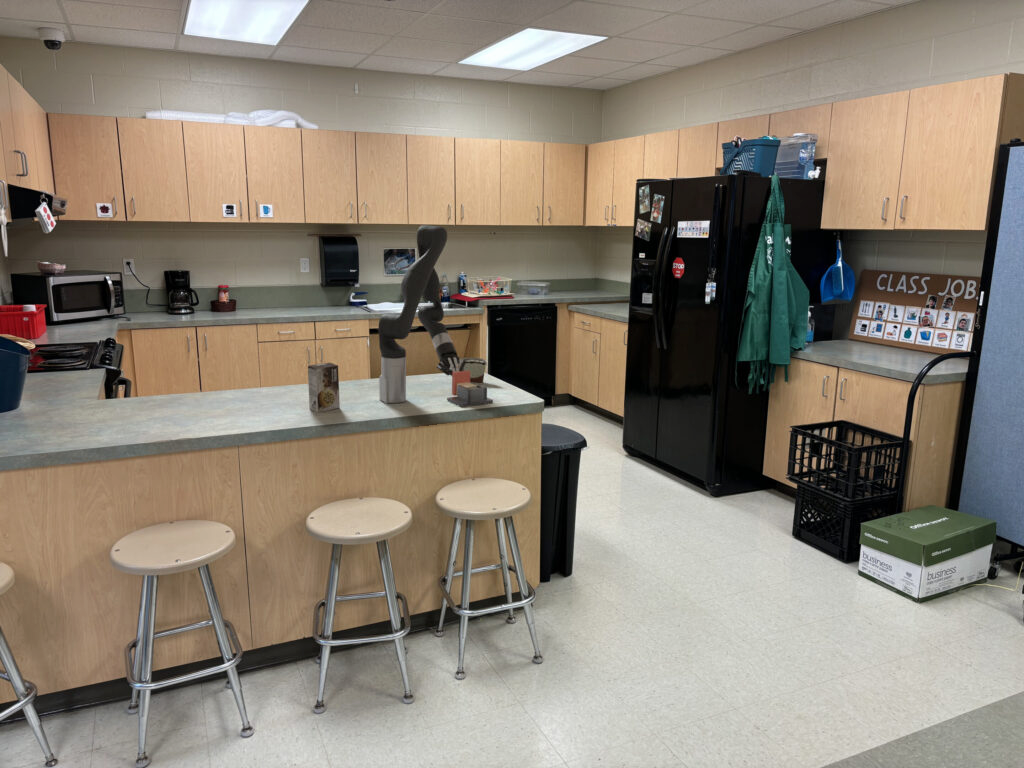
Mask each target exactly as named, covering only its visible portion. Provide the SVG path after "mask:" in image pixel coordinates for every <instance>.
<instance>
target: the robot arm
mask: <svg viewBox="0 0 1024 768" xmlns="http://www.w3.org/2000/svg"><path fill="white" fill-rule="evenodd" d="M447 241H448V232H447V230H446V228H444V227H442V226H437V225H425V224H424V225H423V224H422V225H421V226H419V227H418V230H417V232H416V244H417V252H418V259H417V260H416V261H414V262H413V263H412V264H411V265H409V266H408V268H407V269H406V271H405V274H404V276H403V278H402V280H401V286H400V287H401V293H402V296H403V301H404V302H403V303H404V304H403V307H402V309H401V311H400V313H398V314H397V313H396V314H395V313H383V314H382V315H381V316H380V318H379V321H378V329H377V330H378V341H379V344H378V345H379V346H378V347H379V351H380V359H381V364H380V365H381V366H380V367H381V369H380V370H381V371H380V372H381V374H380V375H379V382H378V383H379V385H378V386H379V400H380V401H382V402H383V403H385V404H398V403H405V402H406V401H407V373H406V372H407V371H406V370H407V349H406V348H405V347H403V346H401V345H400V344H398V342H397V341H396V340H405V339H406V338H408V336H409V334H410V333H411V330H412V327H413V322H414V319H415V316H416V313H417V318H418V320H419V322H420V323H421V325H422V327H424V328H425V330H426V332H428V334H429V336H430V338H431V341H432V343H433V347H434V350H435V352H436V354H437V357H438V359H439V362H438V364H437V365H436V368H437V369H438V370H439V371H441V372H442V373H443V374H445V375H446V376H451V377H452V372H458V371H463V369H464V366H465V363H466V361H465V360H463V361H462V360H460V359H461V358H460V357H459V356H458V353H457V350H456V347H455V345H454V343H453V340H452V338H451V335H449V332H448V330H447V328H446V326H445V324H444V323H442V320H443V319H444V316H445V312H444V308H443V305H442V302H441V296H440V290H441V289H440V288H441V287H440V286H441V285H440V279H439V274H438V272H437V271H436V268H435V265H436V263H437V261H438V259H439V258H440V256H441V255H442V252H443V251H444V249H445V247H446V244H447ZM421 300H424V301H426V302H431V303H432V305H427V306H421V307H420V308H419V309H418V307H419V305H420V302H421ZM417 310H418V311H417Z"/></svg>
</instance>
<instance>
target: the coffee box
mask: <svg viewBox="0 0 1024 768" xmlns="http://www.w3.org/2000/svg"><path fill="white" fill-rule="evenodd" d="M307 378H308V379H307V380H308V383H307V384H308V402H309V409H310V410H312V411H313V412H316V413H320V412H325V411H330V410H334V409H335V410H336V409H340V407H341V406H340V380H339V378H340V377H339V365H337V364H335V363H333V362H324V363H317V364H316V363H315V364H310V365H309V364H308V365H307Z"/></svg>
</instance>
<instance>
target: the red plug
mask: <svg viewBox="0 0 1024 768" xmlns="http://www.w3.org/2000/svg"><path fill="white" fill-rule="evenodd" d="M451 377H452V378H451V396H452V395H453V397H456V396H457V386H458V385H461V386H463V387H466V388H468V389H473V388H477V385H474V383H470V371H458V372H452V376H451Z"/></svg>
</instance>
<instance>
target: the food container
mask: <svg viewBox="0 0 1024 768" xmlns="http://www.w3.org/2000/svg"><path fill="white" fill-rule="evenodd" d="M460 360H462V361H463V360H465V361H466V363H465V366H464V369H463V371H470V382H473V383H472V384H474V383H477V384H478V383H483V384H484V378H485V372H486V367H487V366H488V364H487V361H486V359H484V358H481V357H464V358H460Z"/></svg>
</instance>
